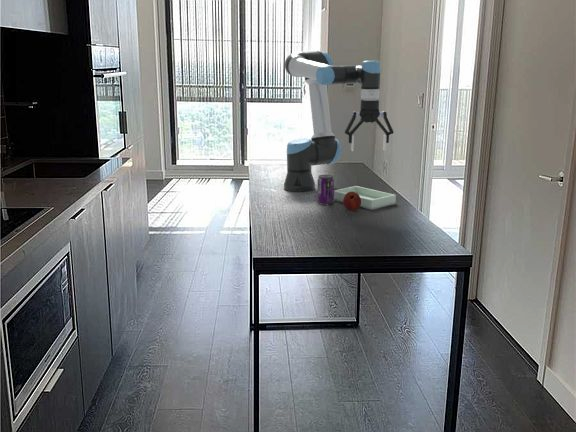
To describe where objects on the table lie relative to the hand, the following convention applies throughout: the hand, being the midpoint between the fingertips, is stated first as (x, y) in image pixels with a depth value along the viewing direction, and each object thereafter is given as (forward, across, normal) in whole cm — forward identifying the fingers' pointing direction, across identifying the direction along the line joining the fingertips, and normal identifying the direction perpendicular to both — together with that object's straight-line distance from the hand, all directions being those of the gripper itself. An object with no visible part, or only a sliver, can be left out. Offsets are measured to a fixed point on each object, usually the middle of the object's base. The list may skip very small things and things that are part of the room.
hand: (368, 150), depth 237 cm
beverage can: (+23, -18, 0) cm, 29 cm away
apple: (+23, -8, -13) cm, 27 cm away
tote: (+22, -1, +1) cm, 23 cm away
